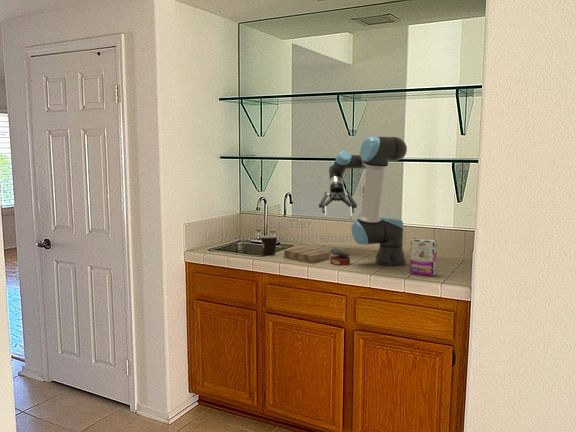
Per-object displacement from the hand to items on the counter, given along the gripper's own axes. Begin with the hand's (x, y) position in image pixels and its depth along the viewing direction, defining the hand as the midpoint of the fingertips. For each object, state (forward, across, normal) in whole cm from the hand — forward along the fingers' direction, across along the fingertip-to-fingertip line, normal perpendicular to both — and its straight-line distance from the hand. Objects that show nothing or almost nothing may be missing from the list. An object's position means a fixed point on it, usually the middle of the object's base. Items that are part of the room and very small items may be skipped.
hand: (338, 217), depth 274 cm
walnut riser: (+16, +17, -16) cm, 28 cm away
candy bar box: (+40, -37, +8) cm, 55 cm away
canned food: (+24, 0, -8) cm, 25 cm away
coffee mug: (+8, +37, -25) cm, 45 cm away
